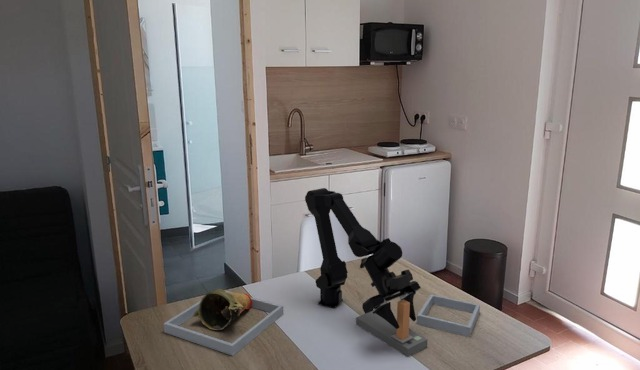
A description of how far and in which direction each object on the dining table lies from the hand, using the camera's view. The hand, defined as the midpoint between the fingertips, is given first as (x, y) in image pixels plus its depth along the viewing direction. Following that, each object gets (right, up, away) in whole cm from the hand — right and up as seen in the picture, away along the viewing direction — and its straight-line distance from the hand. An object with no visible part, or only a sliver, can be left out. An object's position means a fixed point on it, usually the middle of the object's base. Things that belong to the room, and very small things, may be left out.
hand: (406, 324), depth 131 cm
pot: (-54, -4, +17) cm, 56 cm away
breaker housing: (-3, -6, +9) cm, 11 cm away
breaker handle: (-1, -4, +2) cm, 5 cm away
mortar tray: (-54, -4, +16) cm, 56 cm away
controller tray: (+17, -3, +18) cm, 25 cm away
